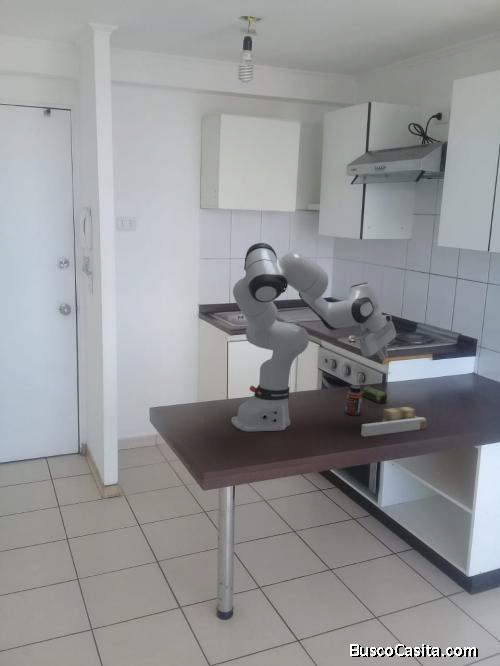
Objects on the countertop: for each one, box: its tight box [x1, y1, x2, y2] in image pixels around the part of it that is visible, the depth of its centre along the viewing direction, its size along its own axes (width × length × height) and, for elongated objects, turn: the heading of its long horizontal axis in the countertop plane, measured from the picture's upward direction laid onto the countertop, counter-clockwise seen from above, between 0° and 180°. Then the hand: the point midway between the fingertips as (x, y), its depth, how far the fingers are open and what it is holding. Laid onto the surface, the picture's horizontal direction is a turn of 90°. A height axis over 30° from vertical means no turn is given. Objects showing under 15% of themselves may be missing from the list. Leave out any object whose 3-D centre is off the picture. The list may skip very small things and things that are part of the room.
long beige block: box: [381, 406, 416, 422], centre depth 232 cm, size 12×4×7 cm, turn 114°
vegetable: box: [361, 385, 388, 404], centre depth 266 cm, size 14×5×5 cm, turn 33°
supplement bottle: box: [345, 385, 363, 416], centre depth 245 cm, size 6×6×11 cm
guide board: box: [360, 415, 428, 438], centre depth 231 cm, size 28×12×4 cm, turn 115°
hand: (384, 358), depth 227 cm, fingers closed
